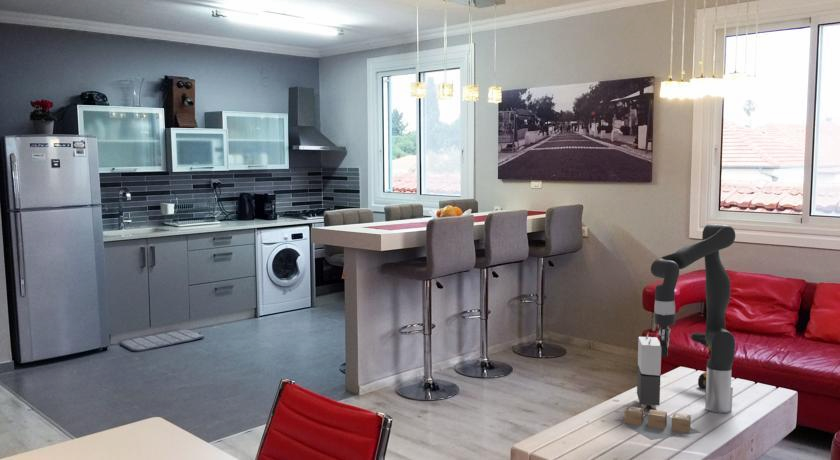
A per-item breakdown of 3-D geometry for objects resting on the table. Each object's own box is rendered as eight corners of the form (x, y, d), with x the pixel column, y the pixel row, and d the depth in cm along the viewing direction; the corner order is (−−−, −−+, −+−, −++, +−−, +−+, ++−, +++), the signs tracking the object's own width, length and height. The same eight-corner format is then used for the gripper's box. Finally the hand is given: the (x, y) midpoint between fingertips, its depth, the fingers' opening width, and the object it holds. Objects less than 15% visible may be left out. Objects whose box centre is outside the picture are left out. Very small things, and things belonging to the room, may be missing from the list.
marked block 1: (627, 418, 282) (627, 405, 282) (643, 421, 280) (643, 407, 279) (624, 423, 277) (625, 410, 276) (640, 426, 274) (641, 412, 274)
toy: (659, 412, 291) (661, 338, 289) (640, 411, 293) (642, 337, 290) (655, 400, 306) (657, 330, 303) (636, 399, 307) (638, 329, 305)
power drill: (692, 379, 336) (694, 326, 334) (733, 391, 318) (735, 335, 316) (681, 382, 332) (683, 328, 330) (722, 394, 314) (724, 338, 312)
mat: (662, 414, 289) (662, 413, 289) (701, 434, 268) (701, 432, 268) (615, 421, 281) (615, 419, 281) (650, 441, 261) (651, 439, 261)
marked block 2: (673, 425, 275) (673, 412, 274) (690, 428, 272) (690, 414, 272) (671, 430, 270) (671, 417, 269) (688, 433, 267) (689, 419, 266)
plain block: (650, 422, 279) (650, 409, 278) (666, 424, 276) (667, 411, 276) (647, 427, 273) (648, 414, 273) (664, 429, 271) (664, 416, 270)
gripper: (656, 308, 285) (656, 351, 287) (652, 314, 273) (652, 359, 275) (676, 309, 282) (676, 352, 283) (673, 315, 270) (673, 361, 271)
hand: (664, 356), depth 279 cm, fingers closed
